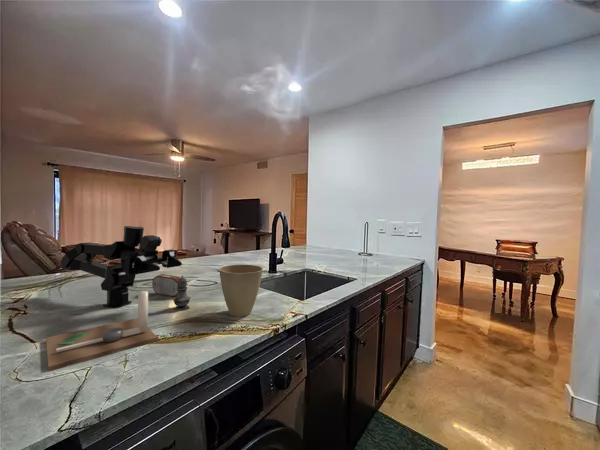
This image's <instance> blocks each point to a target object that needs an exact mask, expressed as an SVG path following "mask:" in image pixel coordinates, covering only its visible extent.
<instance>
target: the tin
mask: <svg viewBox="0 0 600 450" xmlns="http://www.w3.org/2000/svg"><path fill="white" fill-rule="evenodd" d="M180 278H181V277H180V276H177V275H171V274H166V273H165V274H164V273H162V274H159V275H155V277H154V278H153V279H152V281H151V284H152V289H153V291H154V293H155V294H157V295H160V296H166V297H170V298H175V297H177V294H178V290H177V288H178V280H179V279H180Z"/></svg>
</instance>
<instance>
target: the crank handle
mask: <svg viewBox="0 0 600 450" xmlns="http://www.w3.org/2000/svg"><path fill="white" fill-rule="evenodd" d="M137 318H138V327H137V328H133V329H129V330H124V331H123V328H120V327H115V328H110V329H107V330H104V331H103V333H102V338H99V339H95V340H91V341H86V342H82V343H78V344H74V345H70V346H65V347H61V348H57V349H56V352H60V351H64V350H68V349H72V348H76V347H80V346H84V345H88V344H92V343H96V342H100V341H103V342H114V341H117V340H120V339H121V338H122V337H126V336H130V335H134V334H138V333H143V332H146V331H148V328H149V325H148V324H149V321H148V320H149V290H141V291H138V294H137Z"/></svg>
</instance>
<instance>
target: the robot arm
mask: <svg viewBox="0 0 600 450" xmlns="http://www.w3.org/2000/svg"><path fill="white" fill-rule="evenodd" d="M144 232H145V231H144V227H143V226H133V225H132V226H131V225H125V226H123V239H122V240H118V241H117V240H115V241H114V242H113V243H109V244H104V243H94V242H89V241H88V242H79V243H77V244H76V245H75V246H74V248H72V249H70V250H69V251H67V252H66V253H65V254H64V256H63V257H61V260H60V266H61V267H62V268H63V269H64V270H65V271H82V272H85V273H88V274H91V275H93V276H97V277H100V278H102V279H103V281H102V282H101V283H100V288H101V291H104V292H105V291H106V303H104V304H102V306H103V307H108V308H114V309H117V308H120V307H123V306H126V305H129V304H131V303H132V300H129V293H130V292H129V287H132V286H134V283H135V279H136V276H137V275H140V274H146V273H153V272H157V271H160V270H161V266H162V267H163V268H167V269H170V268H174V267H181V266H183V263H182V261H181V260H180V259H178V258H177V254H178V253H177V250H175V249H173V248H171V249H165V250H163V251H162V255H161V256H160V257H158V254H159V250H158V249H157V248H158V247H160V246H161V245H162V242H163V239H161V237H160V236H157V235H151V234H150V235H144ZM94 255H96V256H97V255H98V256H103V258H104V259H106V260H109V261H115V260H120V262H119V264H113V265H108V264H104V263H102V262H99V261H95V260H92V259H94ZM159 265H161V266H159Z"/></svg>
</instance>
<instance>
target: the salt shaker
mask: <svg viewBox="0 0 600 450" xmlns="http://www.w3.org/2000/svg"><path fill="white" fill-rule="evenodd" d="M179 278H180V279H179V280H178V288H177V290H178V294H177V296H176V297H173V298H172V301H173V303H174V305H175V307H173V310H174V311H176V312H177V311H178V312H179V311H180V312H182V311H186V310H189V309H190V308H191V307H190V306H189V305H188V304H189V303H190V301H191V300H190V299H191V296H188V295H187V294H188V293H187V289H188V287H187V279H186V278H185V277H184V276H183V275H181V277H179Z"/></svg>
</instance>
